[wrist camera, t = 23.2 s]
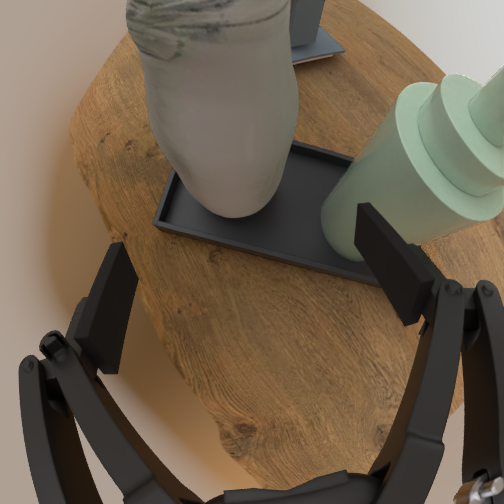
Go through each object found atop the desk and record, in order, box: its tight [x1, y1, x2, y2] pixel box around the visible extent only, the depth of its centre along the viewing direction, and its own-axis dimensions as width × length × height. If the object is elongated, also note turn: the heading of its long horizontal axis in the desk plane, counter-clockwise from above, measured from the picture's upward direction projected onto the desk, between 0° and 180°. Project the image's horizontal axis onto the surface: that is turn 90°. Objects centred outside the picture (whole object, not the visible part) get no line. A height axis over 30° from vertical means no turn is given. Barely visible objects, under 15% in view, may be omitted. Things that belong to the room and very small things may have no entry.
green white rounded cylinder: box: [126, 0, 299, 218], centre depth 20 cm, size 10×10×28 cm
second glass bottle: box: [321, 65, 504, 263], centre depth 19 cm, size 10×10×28 cm
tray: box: [152, 140, 421, 288], centre depth 33 cm, size 31×14×3 cm, turn 75°
